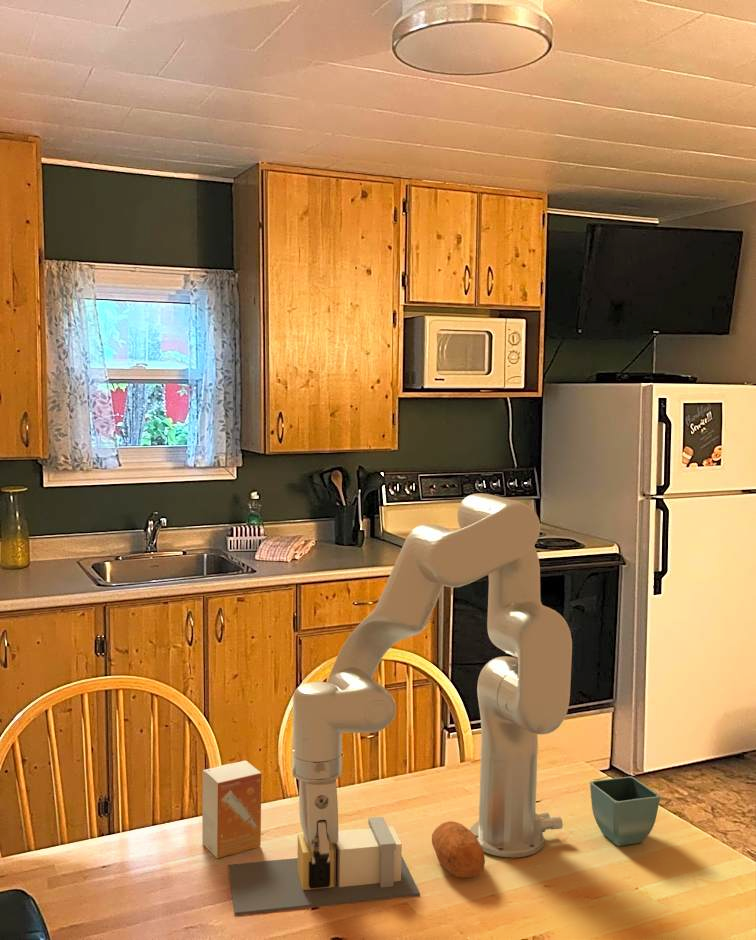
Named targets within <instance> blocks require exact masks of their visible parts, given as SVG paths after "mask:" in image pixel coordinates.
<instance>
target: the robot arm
mask: <svg viewBox="0 0 756 940" xmlns="http://www.w3.org/2000/svg"><path fill="white" fill-rule="evenodd" d="M456 516H457V522H458V525H459V529H456V530H455V529H450V528H448V527H444V526H441V525H437V524H429V523H427V524H421V525H418V526H416V527H414V528H413V529H412V530H411V531H410V532H409V534H408V535H407V537H406V538H405V541H404V543H403V545H402V547H401V549H400V552H399V554H398V556H397V558H396V561H395V562H394V565H393V567H392V570H391V572H390V574H389V576H388V579H387V582H386V583H385V586H384V588H383V590H382V593H381V594H380V597H379V598H378V600H377V603H376V605H375V607H374V608H373V610H371V612H370V613H368V615H367V616H365V618H364V619H362V621H360V623H359V624H358V625H357V626H356V627H355V628H354V629H353V631H352V632H351V633H350V634H349V635H348V637H347V638H346V639H345V640H344V643H343V644H342V646H341V648H340V649H339V652H338V654H337V657H336V659H335V661H334V664H333V666H332V668H331V671H330V674H329V676H328V679H327V682H325V681H312V682H311V681H310V682H306V683H305V682H304V683H303V684H300V685H299V686H298V687H296V689H295V690H294V692H293V698H292V776H293V777H294V778H295V779H296V780H298V783H299V784H298V785H299V786H298V787H299V788H298V790H299V791H298V797H299V799H298V800H299V801H298V805H299V807H298V808H299V809H298V810H299V821H300V825H301V826H300V827H301V828H302V832H303V833H302V834H304V836H305V839H306V842H307V844H308V845H310V850H311V862H309V887H310V888H321V887H329V886H330V853H329V838H330V841H331V843H334V844H337V843H338V841H339V833H338V831H339V807H338V806H339V803H338V802H339V800H338V789H337V779H339V778H340V777H341V775H342V752H343V750H342V749H343V748H342V746H343V745H342V744H343V740H342V739H343V738H342V737H343V734H344V733H350V734H351V733H352V734H374V733H377V732H380V731H383V730H385V729H386V728H387V727H389V726H390V724H392V723H393V721H394V719H395V716H396V712H397V706H396V702H395V699H394V697H393V695H392V694H391V693H390V691H388V690H387V689H386V688H385V687H384V686H383V685H381V684H380V683H378V682H377V681H376V680H375V679H373V678H374V676H375V674H376V671H377V669H378V667H379V665H380V662H382V661H381V660H382V659H383V658H384V656H385V654H387V652H388V651H389V650H390V648H392V647H393V646H394V645H395V644H397V643H398V642H401V641H402V640H406V639H408V638H410V637H414V636H416V635H418V634H421V633H423V631H424V630H425V629H426V628H427V626H428V623H429V621H430V618H431V616H432V614H433V612H434V609H435V606H436V604H437V602H438V600H439V598H440V595H441V593H442V590H443V588H444V587H449V588H460V587H463V586H466V585H469V584H471V583H474V582H476V581H478V580H480V579H482V578H484V577H486V576H488V595H487V599H488V600H487V603H488V604H487V622H486V623H487V624H486V626H487V627H486V628H487V634H488V638H489V640H490V641H491V644H493V645H494V646H495V647H496V648H498V649H500V650H501V651H503V652H505V653H506V654H508V655H510V656H498V657H495V658H492V659H491V660H489V661H488V662H487V663H485V665H484V666H483V667H482V669H481V670H480V673H479V675H478V678H477V679H478V680H477V688H476V692H477V693H476V694H477V700H478V708H479V709H478V710H479V714H480V715H479V716H480V727H481V728H480V731H481V732H480V735H481V738H480V771H479V774H480V776H479V806H478V807H479V808H478V809H479V810H478V811H479V812H478V821H477V822H475V823H473V825H472V826H471V827H469V830H470V831H471V832H472V833H473V834H474V835H475V837H476V838H477V840H478V842H479V843H480V845H481V847H482V849H483V853H484V854H488V855H492V856H495V857H500V858H511V859H512V858H524V857H528V856H532V855H534V854H536V853H537V852H539V851H541V849H542V848H543V847H544V843H545V836H544V833H545V832H546V830H551V831H552V830H561V829H563V819H562V818H561V817H560V816H557V817H555V816H553V817H551V816H550V814H549V812H541V813H537V812H536V806H537V779H538V778H537V777H538V755H539V753H538V752H539V740H538V735H550V734H551V733H553V732H554V731H556V730H557V729H559V728H560V726H561V725H562V724H563V722H564V721H565V719H566V717H567V714H568V710H569V705H570V700H571V699H570V697H571V681H572V659H573V657H572V656H573V639H572V633H571V629H570V627H569V625H568V623H567V621H566V620H565V618H564V617H563V615H561V613H559V612H557V610H555V609H552V608H551V607H548V606H546V605H543V603H542V601H541V600H542V598H541V566H540V559H539V555H538V552H537V551H538V550H537V549H536V547H535V545H536V544H537V542H538V539H539V537H540V532H541V522H540V518H539V516H538V514H537V513H536V511H535V510H534V509H533V508H531V506H529V505H528V504H526V503H524V502H521V501H517V500H512V499H510V498H509V499H508V498H505V497H502V496H497V495H494V494H490V493H482V492H481V493H480V492H479V493H472V494H469V495H467V496H466V497H464V499H462V500H461V502H460V504H459V506H458V509H457V515H456ZM314 838H318V842H314V841H313V839H314ZM315 847H319V850H318V852H316V854H315Z"/></svg>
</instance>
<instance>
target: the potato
mask: <svg viewBox="0 0 756 940" xmlns="http://www.w3.org/2000/svg"><path fill="white" fill-rule="evenodd" d="M431 844H432V847H433V850H434V851H435V855H436V858H437V861H438V862H439V863H440V865H442V866H443V867H444V868H445V869H447V871H449V873H451V874H453V875H454V876H456V877H457V878H472V877H475V876H476V877H477V876H478V875H479V874H480V873H481V872H482V871H484V867H485V862H486V860H485V858H486V857H485V852H483V849H482V847H481V845H480V843H479V842H478V840H477V838H476V837H475V835H474V834H473V833H472V832H471V831H470V828H467V827H466V826H465V825H464V824H462V823H460V822H457V821H453V820H452V821H445V822H442V823H441V824H440V825H439V826H437V827H436V828H435V829H434V831H433V832H432V834H431Z"/></svg>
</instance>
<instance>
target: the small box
mask: <svg viewBox="0 0 756 940" xmlns="http://www.w3.org/2000/svg"><path fill="white" fill-rule="evenodd" d="M201 803H202V808H201V809H202V811H201V812H202V814H201V815H202V816H201V817H202V819H201V821H202V823H201V827H202V832H201V833H202V845H204V847H205V848H206V849H207V850H208V851H209V852H210V853H211V854H212V855H213V856H214V857H215V858H216V859H221V858H224V857H226V856H230V855H234V854H237V853H240V852H246V851H249V850H251V849H258V848H260V847H261V837H262V836H261V835H262V834H261V833H262V831H261V829H262V828H261V827H262V772H261V771H260V770H258V769H257V768H256V767H255V766H253V765H252V764H251V763H250V762H249V761H247V760H240V761H237V762H232V763H226V764H221V765H218V766H215V767H211V768H207V769H205V768H204V769H203V770H202V802H201Z"/></svg>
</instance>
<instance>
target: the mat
mask: <svg viewBox="0 0 756 940" xmlns="http://www.w3.org/2000/svg"><path fill="white" fill-rule="evenodd" d="M297 868H298V857H295V858H284V859H274V860H262V861H254V862H253V861H252V862H242V863H241V862H240V863H233V864H232V863H231V864H228V875H229V880H230V889H231V897H232V904H233V907H232V908H233V913H234V916H242V915H248V914H251V915H252V914H258V913H270V912H278V911H288V910H297V909H305V908H307V909H308V908H315V907H324V906H325V907H327V906H334V905H343V904H353V903H362V902H373V901H381V900H391V899H400V898H408V897H420V896H421V893H420V890H419V888H418V886H417V884H416V882H415V880H414V878H413V875H412V874H411V871H410V870H409V867H408V865H407V864H406V861H405V860H404V857H403V854H401V881H394V886H390V887H381V886H380V884H379V883H374V884H365V885H355V886H345V887H337V884H336V887H329V888H320V889H310V890H303V889H302V885H301V882H300V878H299V874H298V870H297Z"/></svg>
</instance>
